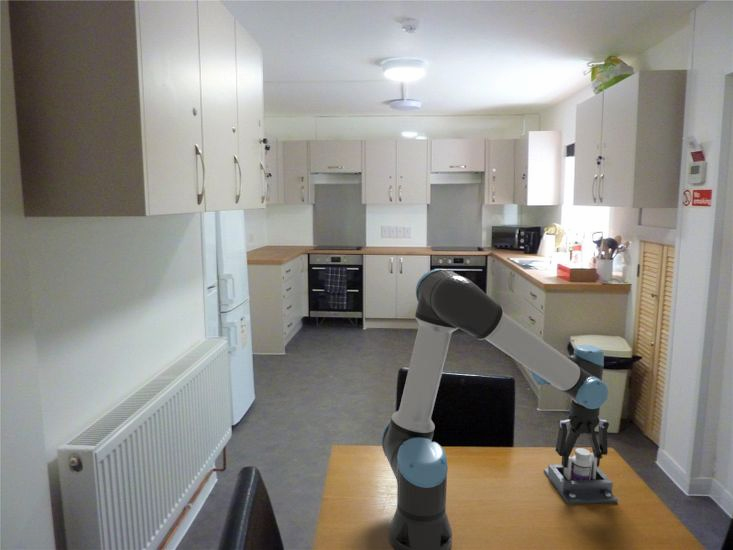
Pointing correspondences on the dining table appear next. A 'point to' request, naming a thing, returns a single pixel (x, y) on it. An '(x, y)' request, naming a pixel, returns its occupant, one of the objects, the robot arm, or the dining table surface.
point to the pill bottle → (581, 465)
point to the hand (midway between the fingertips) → (579, 476)
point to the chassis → (581, 487)
